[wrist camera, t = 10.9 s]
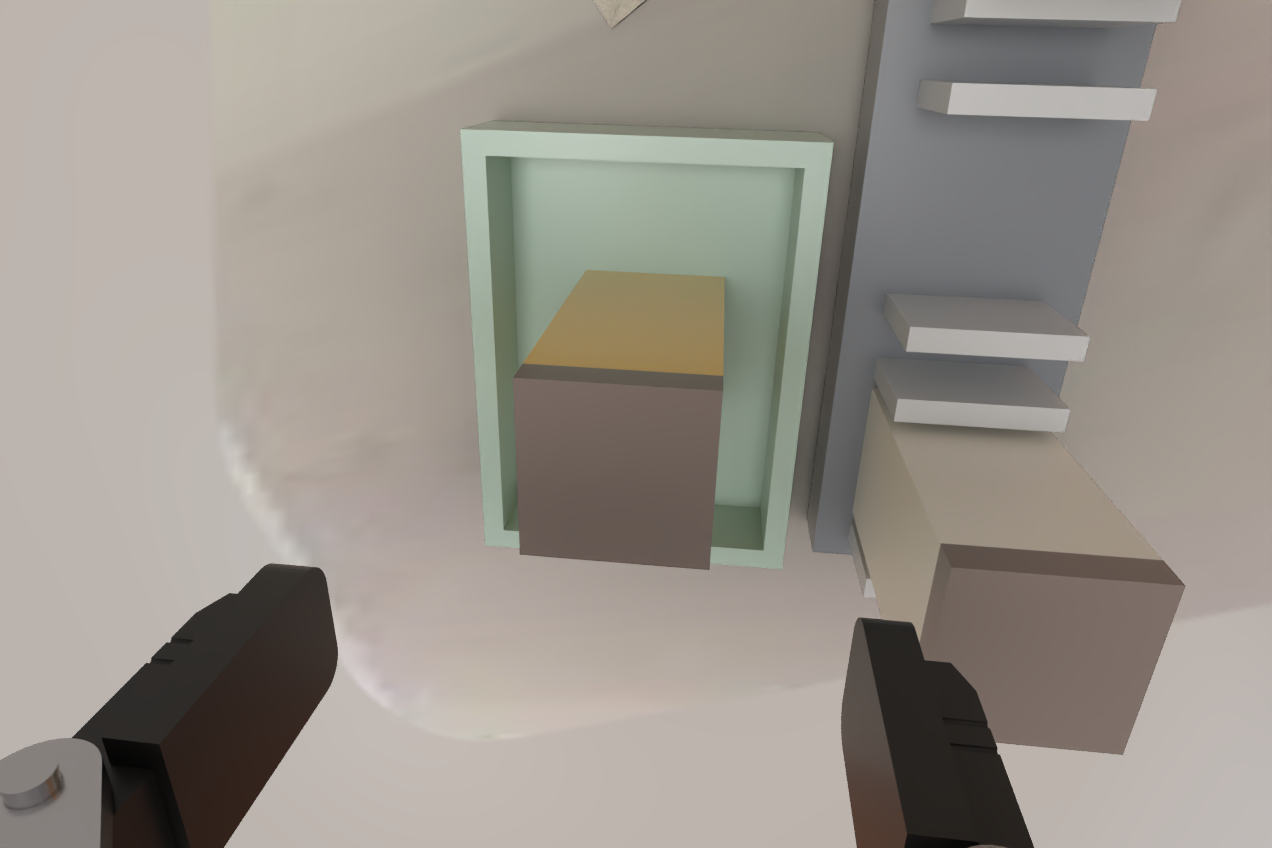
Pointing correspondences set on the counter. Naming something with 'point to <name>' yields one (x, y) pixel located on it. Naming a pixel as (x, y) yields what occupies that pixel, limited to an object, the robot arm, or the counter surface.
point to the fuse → (623, 422)
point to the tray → (652, 243)
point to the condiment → (616, 9)
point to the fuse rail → (989, 359)
